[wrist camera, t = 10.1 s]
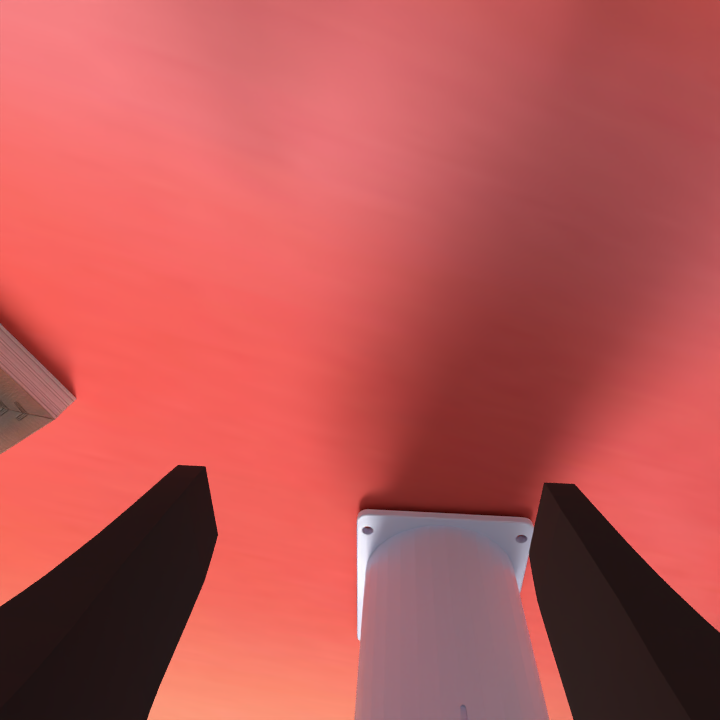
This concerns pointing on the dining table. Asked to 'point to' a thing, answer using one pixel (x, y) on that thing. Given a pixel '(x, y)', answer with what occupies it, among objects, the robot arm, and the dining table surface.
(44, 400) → the picture frame
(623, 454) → the dining table surface
